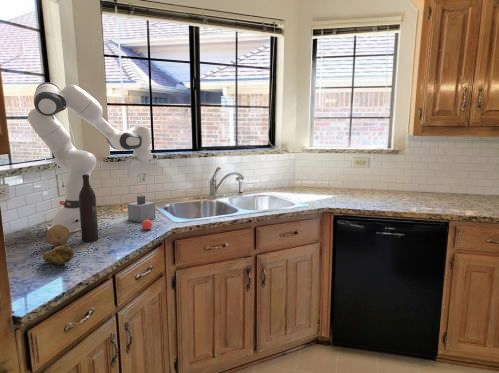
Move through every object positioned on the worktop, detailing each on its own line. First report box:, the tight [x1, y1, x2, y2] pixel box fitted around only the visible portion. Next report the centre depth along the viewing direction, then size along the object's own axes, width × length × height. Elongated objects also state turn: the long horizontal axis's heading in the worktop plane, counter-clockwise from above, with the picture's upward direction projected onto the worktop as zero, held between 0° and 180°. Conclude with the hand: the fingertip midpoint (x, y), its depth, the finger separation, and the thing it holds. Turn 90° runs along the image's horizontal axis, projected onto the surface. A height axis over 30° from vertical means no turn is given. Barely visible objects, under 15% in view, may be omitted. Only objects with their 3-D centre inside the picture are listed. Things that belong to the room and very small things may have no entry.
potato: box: [42, 245, 75, 265], centre depth 141 cm, size 8×13×8 cm, turn 47°
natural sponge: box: [45, 225, 71, 248], centre depth 159 cm, size 9×9×10 cm
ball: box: [141, 220, 153, 231], centre depth 187 cm, size 5×5×5 cm
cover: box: [127, 195, 156, 223], centre depth 206 cm, size 10×10×13 cm
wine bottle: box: [79, 174, 99, 243], centre depth 168 cm, size 7×7×30 cm
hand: (142, 181), depth 201 cm, fingers closed
